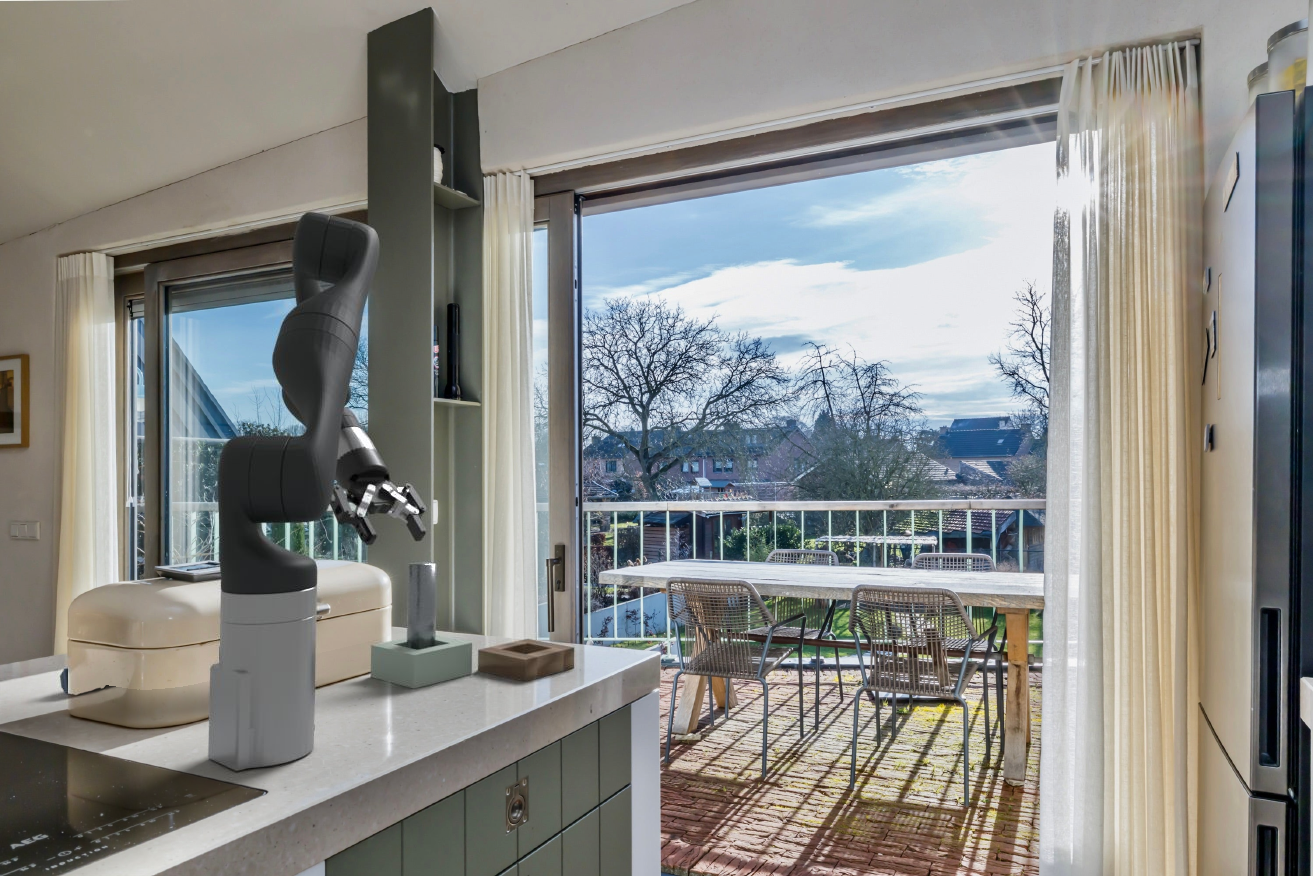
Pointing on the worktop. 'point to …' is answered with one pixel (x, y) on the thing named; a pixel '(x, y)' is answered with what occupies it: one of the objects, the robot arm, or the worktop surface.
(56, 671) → the worktop surface
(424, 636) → the ball
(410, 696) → the worktop surface
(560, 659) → the walnut socket
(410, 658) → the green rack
